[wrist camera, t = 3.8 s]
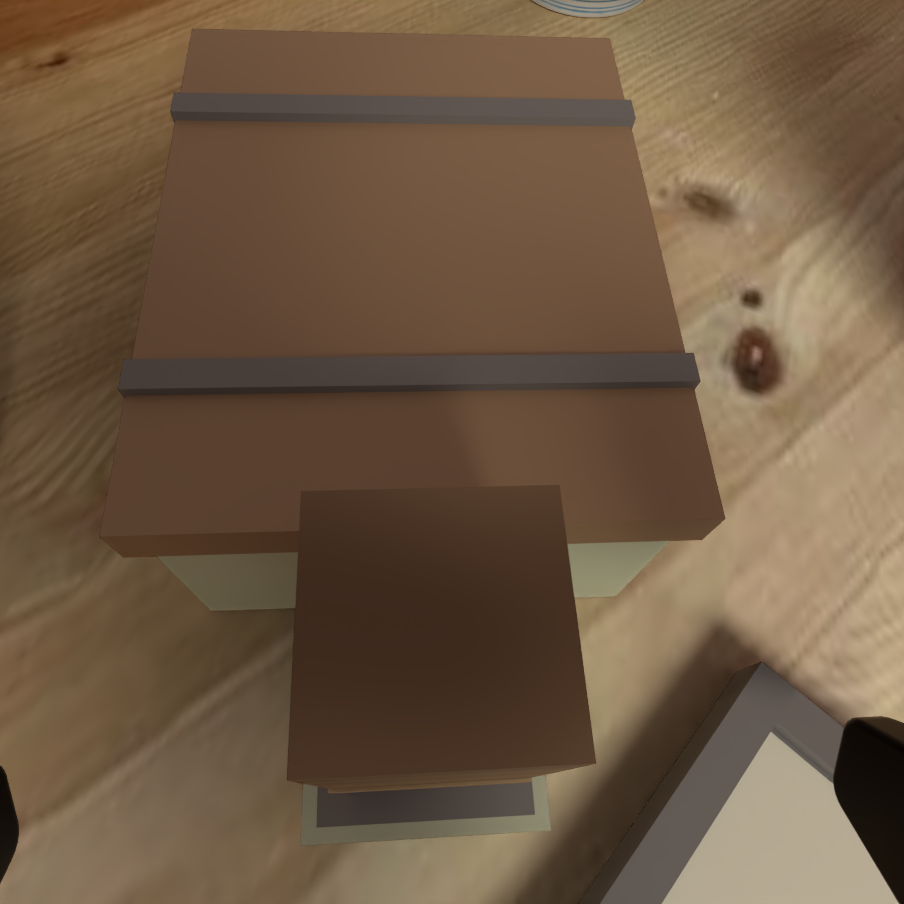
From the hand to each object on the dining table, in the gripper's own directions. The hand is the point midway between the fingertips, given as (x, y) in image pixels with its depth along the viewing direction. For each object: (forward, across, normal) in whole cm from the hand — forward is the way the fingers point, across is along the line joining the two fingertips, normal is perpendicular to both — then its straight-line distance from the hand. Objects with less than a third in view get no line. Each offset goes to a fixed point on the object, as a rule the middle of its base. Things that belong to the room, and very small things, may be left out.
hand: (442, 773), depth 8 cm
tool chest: (+14, 0, -1) cm, 14 cm away
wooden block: (+6, 0, -4) cm, 8 cm away
